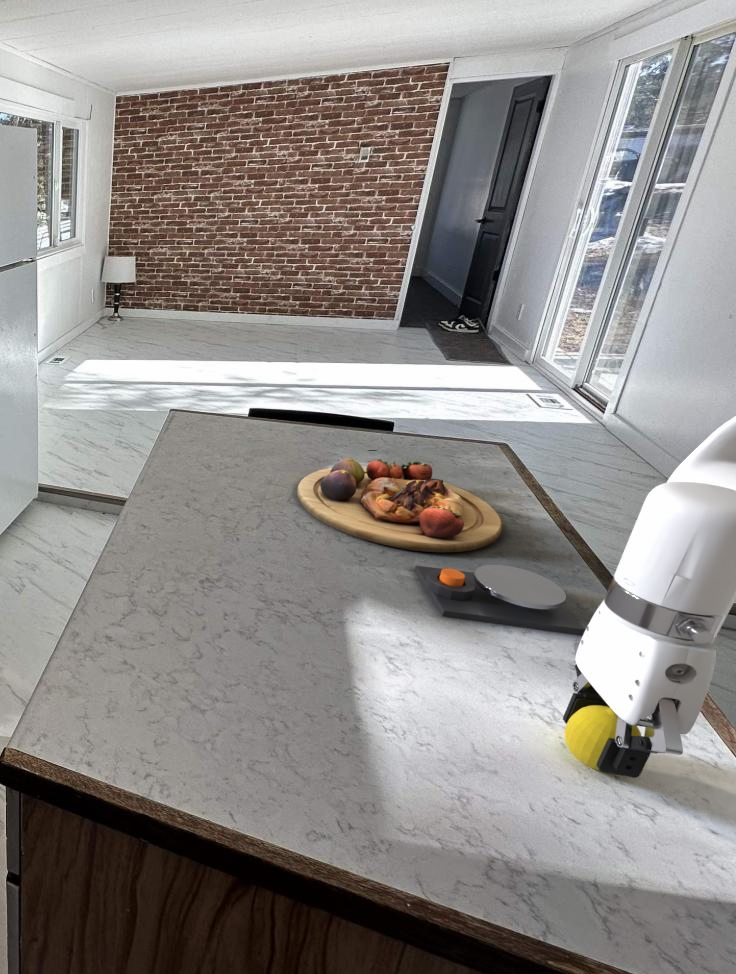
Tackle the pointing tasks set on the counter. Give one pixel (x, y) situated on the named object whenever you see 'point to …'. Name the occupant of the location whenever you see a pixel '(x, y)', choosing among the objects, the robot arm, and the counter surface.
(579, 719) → the lemon
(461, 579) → the tare button
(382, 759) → the counter surface
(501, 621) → the scale
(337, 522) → the wooden plate
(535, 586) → the scale pan
